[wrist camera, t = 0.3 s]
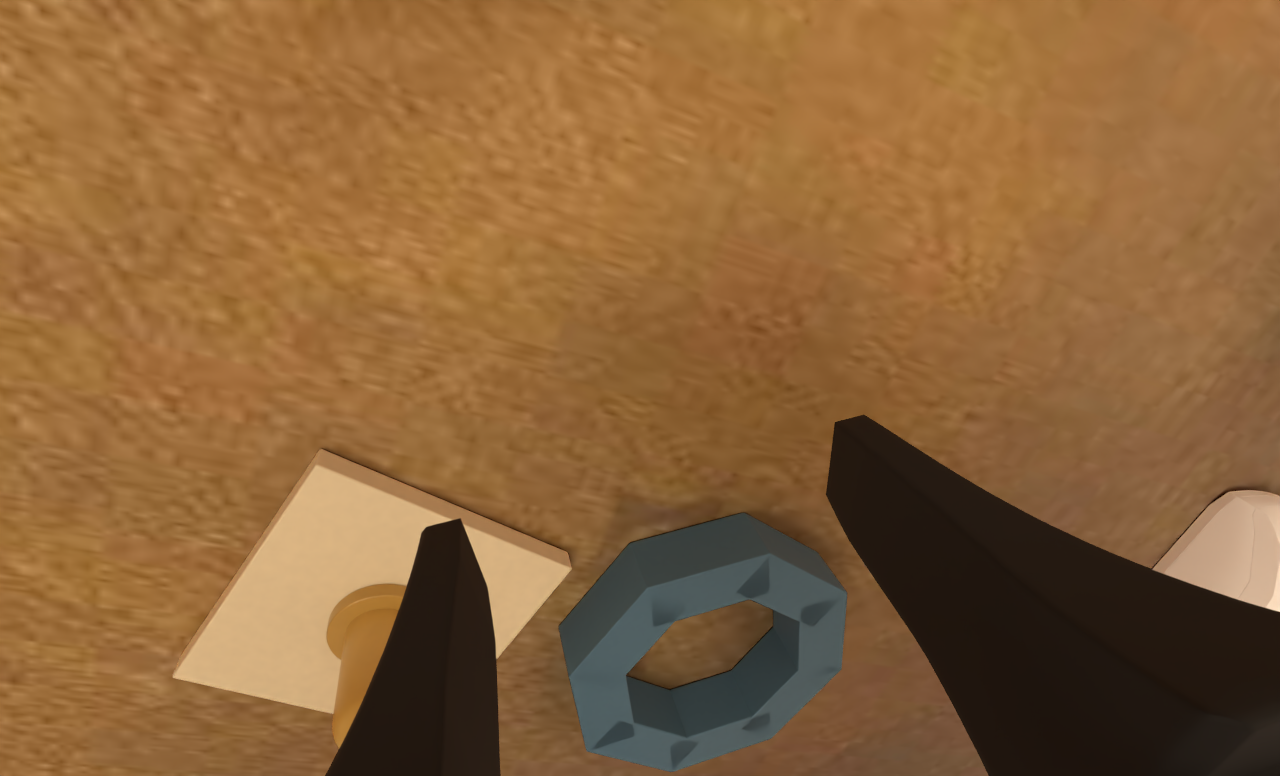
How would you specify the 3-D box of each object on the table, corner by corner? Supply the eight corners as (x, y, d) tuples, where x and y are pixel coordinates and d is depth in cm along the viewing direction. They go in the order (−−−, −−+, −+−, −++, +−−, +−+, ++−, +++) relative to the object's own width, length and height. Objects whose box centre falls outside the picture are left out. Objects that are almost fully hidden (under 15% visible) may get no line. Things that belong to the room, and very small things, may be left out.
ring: (705, 737, 35) (723, 785, 32) (511, 681, 29) (517, 735, 27) (863, 576, 32) (895, 617, 30) (683, 479, 26) (706, 520, 24)
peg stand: (432, 716, 28) (432, 872, 23) (180, 655, 24) (108, 834, 18) (568, 551, 26) (602, 683, 21) (320, 447, 21) (283, 584, 16)
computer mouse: (1082, 644, 41) (1180, 737, 35) (1234, 473, 36) (1372, 550, 31) (1141, 654, 43) (1240, 742, 38) (1289, 496, 39) (1424, 570, 34)
